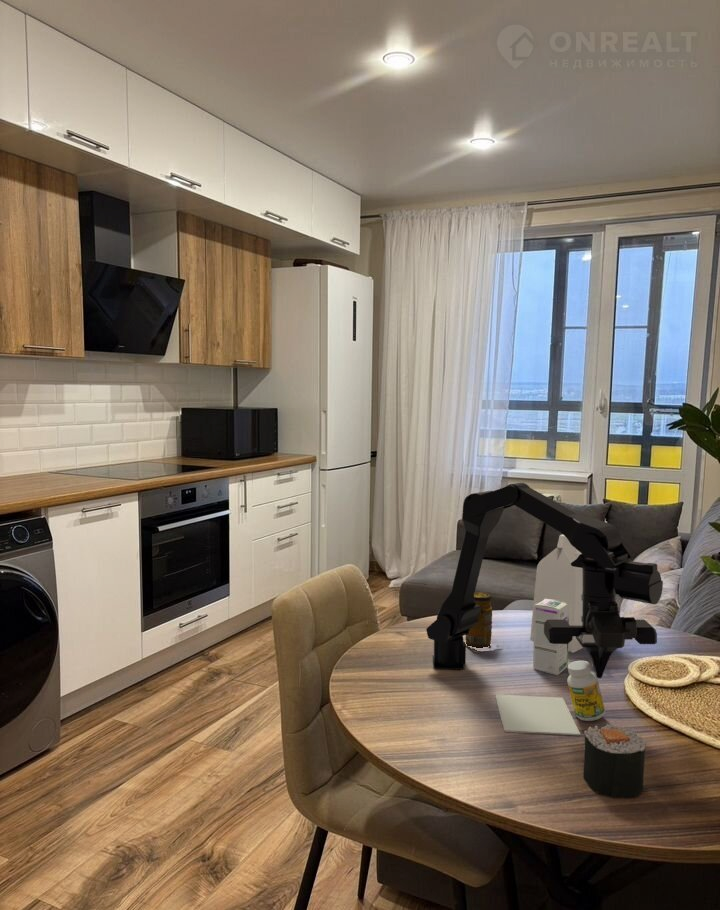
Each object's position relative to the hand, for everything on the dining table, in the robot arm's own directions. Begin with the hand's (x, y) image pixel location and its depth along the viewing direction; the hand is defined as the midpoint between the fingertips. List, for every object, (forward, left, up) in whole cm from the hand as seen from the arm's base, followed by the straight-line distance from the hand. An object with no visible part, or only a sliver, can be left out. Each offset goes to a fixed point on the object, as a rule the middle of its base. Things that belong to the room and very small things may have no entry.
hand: (598, 677), depth 122 cm
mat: (-11, 0, -8) cm, 14 cm away
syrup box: (-4, +22, -8) cm, 24 cm away
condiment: (-18, +34, -8) cm, 39 cm away
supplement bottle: (-1, 0, -7) cm, 7 cm away
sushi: (-3, -21, -8) cm, 23 cm away
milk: (+3, +40, -8) cm, 41 cm away
